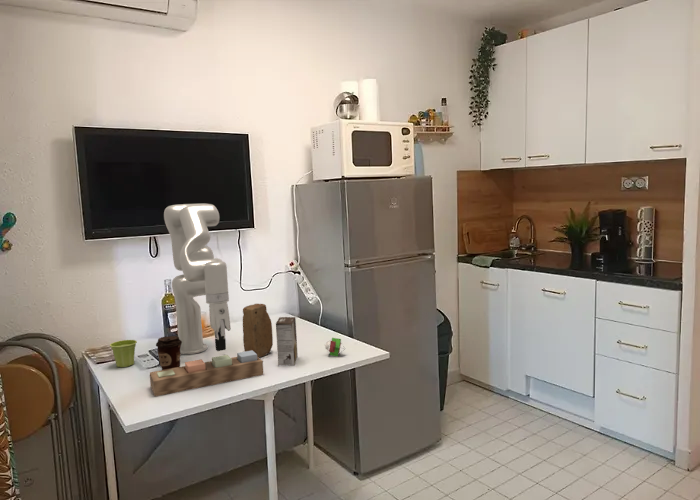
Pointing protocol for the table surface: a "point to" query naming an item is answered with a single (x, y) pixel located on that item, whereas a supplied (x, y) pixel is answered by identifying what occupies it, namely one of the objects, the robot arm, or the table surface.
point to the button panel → (202, 376)
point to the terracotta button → (194, 366)
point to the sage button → (221, 361)
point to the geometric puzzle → (334, 346)
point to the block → (257, 329)
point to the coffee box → (286, 341)
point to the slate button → (246, 356)
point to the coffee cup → (169, 352)
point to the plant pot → (124, 352)
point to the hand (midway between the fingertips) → (220, 349)
